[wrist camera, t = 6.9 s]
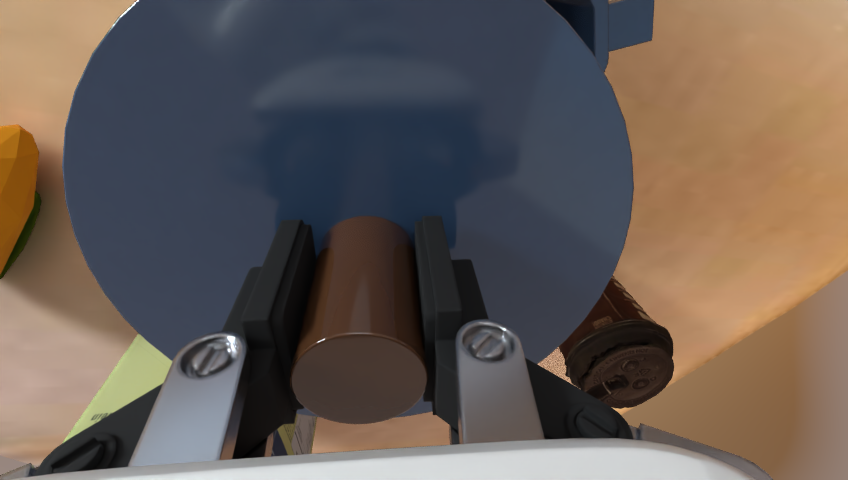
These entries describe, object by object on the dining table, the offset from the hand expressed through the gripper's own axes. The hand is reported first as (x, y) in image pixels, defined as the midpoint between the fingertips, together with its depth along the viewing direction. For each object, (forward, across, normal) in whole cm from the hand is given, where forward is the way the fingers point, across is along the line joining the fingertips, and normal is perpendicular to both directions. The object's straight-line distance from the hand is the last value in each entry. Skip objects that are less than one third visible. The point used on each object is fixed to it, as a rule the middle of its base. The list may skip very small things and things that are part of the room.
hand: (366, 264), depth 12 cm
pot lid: (+1, 0, 0) cm, 1 cm away
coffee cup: (+23, -18, +19) cm, 35 cm away
